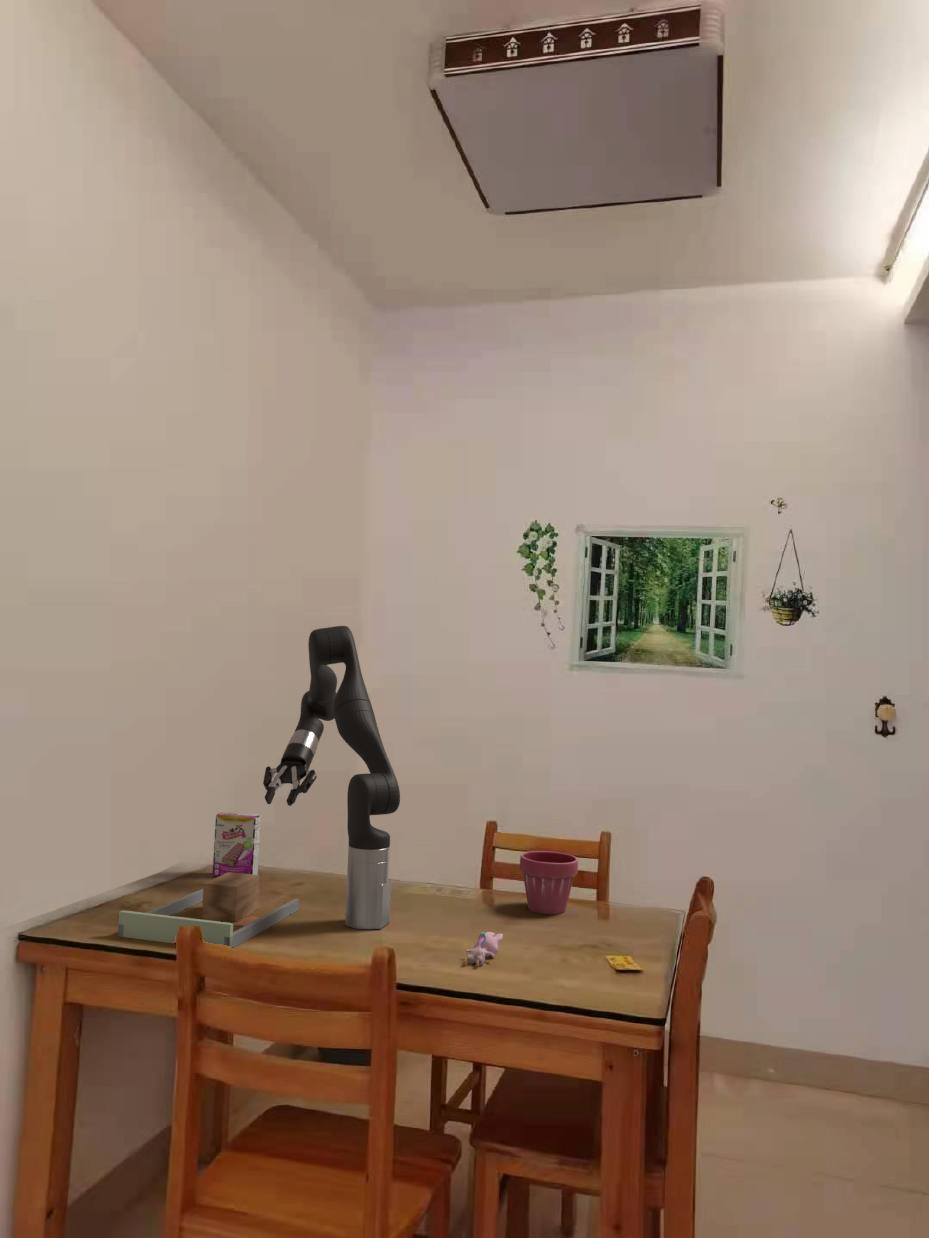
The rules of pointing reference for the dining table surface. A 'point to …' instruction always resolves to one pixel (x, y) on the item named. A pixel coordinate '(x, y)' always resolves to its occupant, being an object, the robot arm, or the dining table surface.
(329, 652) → the robot arm
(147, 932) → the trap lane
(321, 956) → the dining table surface
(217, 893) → the walnut block
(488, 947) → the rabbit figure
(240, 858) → the candy bar box
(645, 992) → the dining table surface
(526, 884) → the plant pot
